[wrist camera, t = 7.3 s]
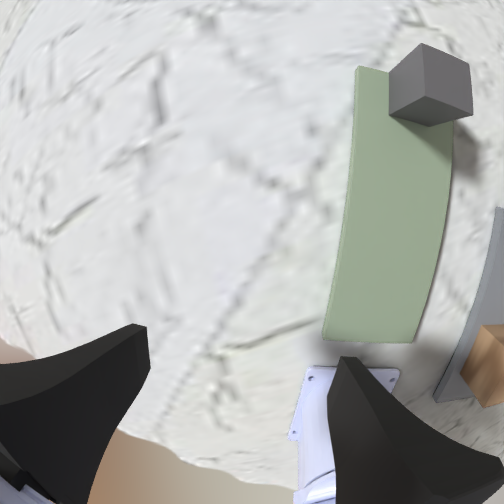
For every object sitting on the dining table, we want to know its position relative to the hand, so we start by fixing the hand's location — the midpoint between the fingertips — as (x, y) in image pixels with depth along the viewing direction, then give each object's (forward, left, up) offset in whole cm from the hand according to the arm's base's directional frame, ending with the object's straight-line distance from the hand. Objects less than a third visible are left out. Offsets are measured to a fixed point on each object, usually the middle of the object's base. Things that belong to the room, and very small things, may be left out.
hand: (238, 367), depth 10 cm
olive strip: (+5, -8, -9) cm, 14 cm away
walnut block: (-4, -21, -8) cm, 23 cm away
